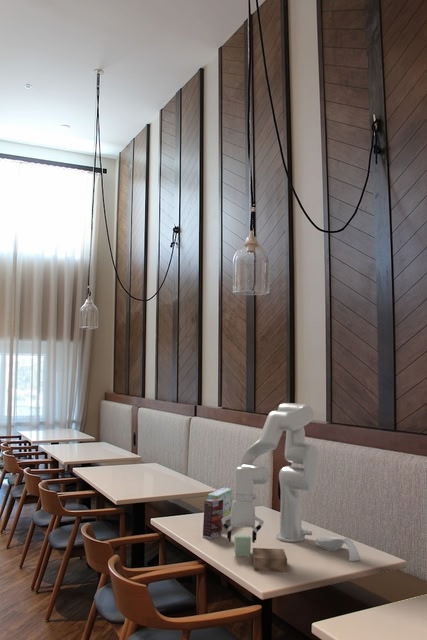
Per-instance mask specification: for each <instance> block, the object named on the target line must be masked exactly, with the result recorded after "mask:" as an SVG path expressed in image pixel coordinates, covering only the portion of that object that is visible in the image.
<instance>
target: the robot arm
mask: <svg viewBox="0 0 427 640" xmlns="http://www.w3.org/2000/svg"><path fill="white" fill-rule="evenodd" d="M277 407H278V408H277V410H272V411H270V412H269V413H268V415H267V417H266V420H265V422H264V426H263V427H262V430H261V433H260V434H259V437H258V439H257V441H255V442H254V443H253V444H252V445H251V446H249V447H248V448H247V449H246V450H245V452H244V453H243V454H242V456H241V459H240V461H239V464H238V466H237V467H236V468H235V475H234V476H235V477H234V498H233V499H231V510H230V515H228V516H226V517H224V518H222V519H221V521H222V527H224V529H226V530H227V533H226V539H227V540H228V542H229V543H230V542H231V541H232V529H233V528H251V529H252V533H251V534H252V536H251V537H252V538H251V543H254V544H255V543H256V541H257V533H258V531H260V530H261V528H262V527H263V526H264V523H265V522H264V520H263V519H261V518H260V517H258V516H256V505H255V501H254V500H256V499H257V494H256V495H255V494H254V485H266V484H267V483H268V482H269V481H270V479H271V472H270V469H268V467H266V466H263V465H259V464H254V462H255V461H256V460H257V458H259V457H260V456H261V455H264V454H266V453H269V452H271V451H274V450H276V449H277V448H278V446H279V443H280V439H281V437H282V434H283V432H284V431H286V432H285V433H286V435H285V445H284V459H285V460H286V461H287V462H288V463H292V464H296V465H302V466H303V467H299V466H294V465H293V466H292V465H286V466H283V467H282V468H281V469H280V470H279V474H278V481H279V488H280V514H279V516H280V520H279V521H280V522H279V532H278V533H277V534H276V538H277V540H279V541H283V542H288V543H300V542H303V541H305V540H306V539H305V538H306V537H305V536H313V531H312V530H308V529H304V528H302V520H303V518H302V517H303V516H302V514H303V512H302V511H303V497H302V493H301V491H305V492H312V491H314V490H315V488H316V486H317V484H318V474H319V463H320V453H319V449H318V448H317V446H316V445H315V444H312V443H306V441H305V438H306V431H305V426H307V425H308V424H309V423H311V421H313V418H314V410H313V407H312V406H311V405H309V404H305V403H294V402H293V403H292V402H291V403H290V402H284V403H280V404H279V406H277ZM228 519H229V525H228V524H227V523H226V522H227V521H228ZM226 520H227V521H226ZM256 522H258V524H257V526H256Z"/></svg>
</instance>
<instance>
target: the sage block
mask: <svg viewBox="0 0 427 640" xmlns="http://www.w3.org/2000/svg"><path fill="white" fill-rule="evenodd" d="M251 537H252V536H251V535H250V534H249V533H246V534H245V533H234V544H233V545H234V546H233V553H234V556H235V557H251V551H252V549H251V547H252V546H251V545H252V544H251V543H252V538H251Z"/></svg>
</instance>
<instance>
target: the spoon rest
mask: <svg viewBox="0 0 427 640" xmlns="http://www.w3.org/2000/svg"><path fill="white" fill-rule="evenodd" d="M315 542H316V543H317V545H318V546H319V547H320V548H322V549H324V550H325V551H328V552H329V551H330V552H335V551H338V550H339V549H341V548H342V547H343V545H344V544H345V545H347V546H346V547H347V548H348V549H347V550H348V560H349V561H348V562H358V561H360V560H361V559H360V558H361V557H360V554H359V551H358V548H357V546H356V545H355V543H354V542H353V541H352V539H351V538H348V537H345V538H341V537H335V536H322V537H321V536H320V537H317V538H316V539H315Z"/></svg>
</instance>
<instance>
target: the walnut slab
mask: <svg viewBox="0 0 427 640" xmlns="http://www.w3.org/2000/svg"><path fill="white" fill-rule="evenodd" d="M251 560H252V566H253V571H254V572H256V571H257V572H273V573H274V572H277V573H280V572H281V573H287V572H288V558H287V554H286V552H285V550H284V549H283V548H263V547H252V558H251Z"/></svg>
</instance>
